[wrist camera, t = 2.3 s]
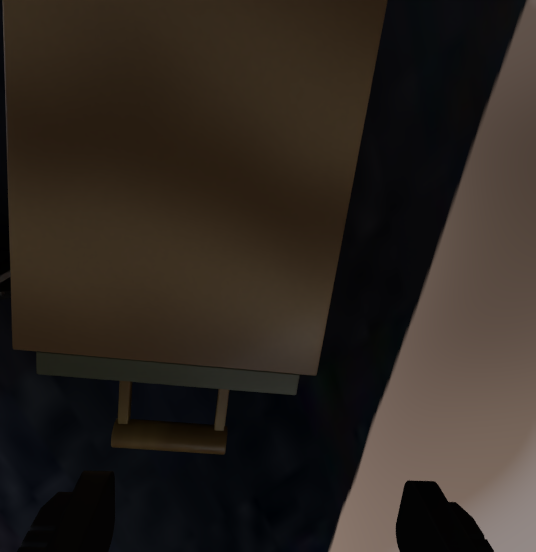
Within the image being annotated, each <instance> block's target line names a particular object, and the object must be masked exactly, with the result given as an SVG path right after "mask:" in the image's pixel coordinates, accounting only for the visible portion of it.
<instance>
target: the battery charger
mask: <svg viewBox="0 0 536 552" xmlns="http://www.w3.org/2000/svg"><path fill="white" fill-rule="evenodd" d="M9 297H11V275H10V252H8V251H2V250H0V299H7V298H9Z"/></svg>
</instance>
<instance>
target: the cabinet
mask: <svg viewBox="0 0 536 552" xmlns="http://www.w3.org/2000/svg"><path fill="white" fill-rule="evenodd" d="M386 5H387V0H3V34H4V69H5V103H6V137H7V172H8V206H9V240H10V275H11V309H12V343H13V349H17V350H28V351H40V352H51V353H63V354H74V355H85V356H97V357H108V358H120V359H131V360H143V361H154V362H166V363H177V364H189V365H200V366H212V367H223V368H234V369H246V370H257V371H269V372H280V373H292V374H303V375H317V370H318V365H319V359H320V354H321V349H322V344H323V338H324V333H325V328H326V322H327V317H328V312H329V307H330V301H331V296H332V291H333V285H334V280H335V275H336V270H337V264H338V259H339V254H340V248H341V243H342V238H343V233H344V227H345V222H346V217H347V211H348V206H349V201H350V196H351V190H352V185H353V180H354V174H355V169H356V164H357V159H358V153H359V148H360V143H361V137H362V132H363V127H364V122H365V116H366V111H367V106H368V100H369V95H370V90H371V85H372V79H373V74H374V69H375V63H376V58H377V53H378V48H379V42H380V37H381V32H382V26H383V21H384V16H385V11H386Z"/></svg>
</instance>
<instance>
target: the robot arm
mask: <svg viewBox="0 0 536 552" xmlns="http://www.w3.org/2000/svg"><path fill="white" fill-rule="evenodd" d="M114 523H115V477H114V472H113V471H84V472H83V473H82V474H81V476H80V478H79V480H78V482H77V484H76V486H75V488H74V490H73V492H58V493H57V494H56V495H55V496H54V497H53V498H51V499H50V500H49V501H48V502H47V503H46V504H45V505H44V506H43V507H42V508H41V509H40V511H39V513H38V515H37V516H36V518H35V520H34V522H33V524H32V525H31V527H30V531H28V533H27V534H26V536H25V538H24V540H23V542H22V545H21V547H19V549H18V551H17V552H108V550H109V547H110V544H111V540H112V536H113V530H114ZM396 538H397V544H398V548H399V550H400V552H494V550H493V549H492V547H491V546H490V544H489V543H488V541H487V540H486V539H485V538H484V535H483V533H482V531H481V530H480V528H479V527H478V525H477V524H476V522H475V520H474V519H473V518H472V517H471V516H470V515H469V514H468V513H467V512H466V511H465V510H464V509H463V508H461V507H460V506H459V505H458V504H457V503H456V502H448V501H447V499H446V497H445V496H444V494H443V492H442V491H441V489H440V487H439V486H438V484H437V483H436V482H434V481H407V482H406V483H405V486H404V490H403V495H402V499H401V504H400V508H399V513H398V517H397V522H396Z"/></svg>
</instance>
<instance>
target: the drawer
mask: <svg viewBox="0 0 536 552" xmlns="http://www.w3.org/2000/svg"><path fill="white" fill-rule="evenodd" d="M36 366H37V374H44V375H56V376H69V377H81V378H93V379H105V380H117V381H120V384H119V405H118V418H117V419H116V421H115V423H114V426H113V430H112V436H111V446H112V447H116V448H132V449H147V450H162V451H178V452H193V453H209V454H225V450H226V442H227V426H225V419H226V411H227V404H228V396H229V390H240V391H252V392H264V393H277V394H289V395H296V392H297V387H298V381H299V374H292V373H280V372H269V371H257V370H246V369H234V368H223V367H212V366H200V365H189V364H177V363H166V362H154V361H143V360H131V359H120V358H108V357H97V356H85V355H74V354H63V353H51V352H40V351H37V352H36ZM132 382H142V383H154V384H166V385H179V386H191V387H203V388H215V389H218V398H217V406H216V414H215V423H214V425H207V424H193V423H179V422H165V421H151V420H138V419H130V414H131V396H132Z"/></svg>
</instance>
